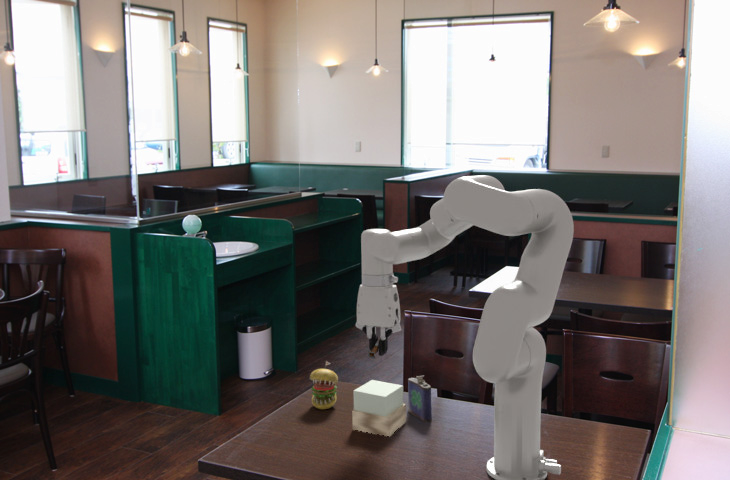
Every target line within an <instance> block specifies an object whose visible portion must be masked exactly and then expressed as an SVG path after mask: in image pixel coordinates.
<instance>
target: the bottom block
mask: <svg viewBox="0 0 730 480" xmlns="http://www.w3.org/2000/svg"><path fill="white" fill-rule="evenodd" d="M351 412H352V415H351V417H352V431H355V430H358V431H357V432H360V431H362V433H366V432H368V433H367V434H371V433H372V435H377V434H379V435H378V436H382V435H384V437H387V436H389V438H390V437H392V436H393V435H394V434H395V433H396V432H397V431H398V430H399V429H400V428H402V426H403V425H405V424H406V423H407V404H406V403H403V405H402V406H401V407H399V408H398V409H396V410H395V411H393V412H392V413H391V414H389V415H388V416H386V417H384V416H379V415H374V414H370V413H365V412H360V411H356V410H354V409H353V410H352V411H351ZM398 428H399V429H398ZM397 429H398V430H397ZM396 430H397V431H396ZM395 431H396V432H395ZM394 432H395V433H394Z"/></svg>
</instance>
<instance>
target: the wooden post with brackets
mask: <svg viewBox="0 0 730 480" xmlns="http://www.w3.org/2000/svg"><path fill="white" fill-rule="evenodd" d="M380 337H381V335H380V336H379V338H378V341H377V342H376V344H375V347H374V348H373V349H372V350H371V351H370V350H369V351H367V352H366V353H367V355H368V356H367V357H368V359H373V360H376V357H377V356H376V354H377V353H378V352H377V350H378V351H379V340H380ZM376 352H377V353H376Z"/></svg>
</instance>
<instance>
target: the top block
mask: <svg viewBox="0 0 730 480" xmlns="http://www.w3.org/2000/svg"><path fill="white" fill-rule="evenodd" d="M352 391H353V392H352V393H353V411H354V410H356V411H360V412H365V413H370V414H374V415H379V416H384V417H386V416H388V415H389V414H391V413H392V412H393V411H395V410H396V409H398V408H399V407H401V406H402V405H403V404H404V385H401V384H398V383H391V382H385V381H382V380H381V381H380V380H375V379H371V380H369V381H367V382H365V383H364V384H362V385H361V386H359V387H356V388H355V389H354V390H352Z"/></svg>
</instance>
